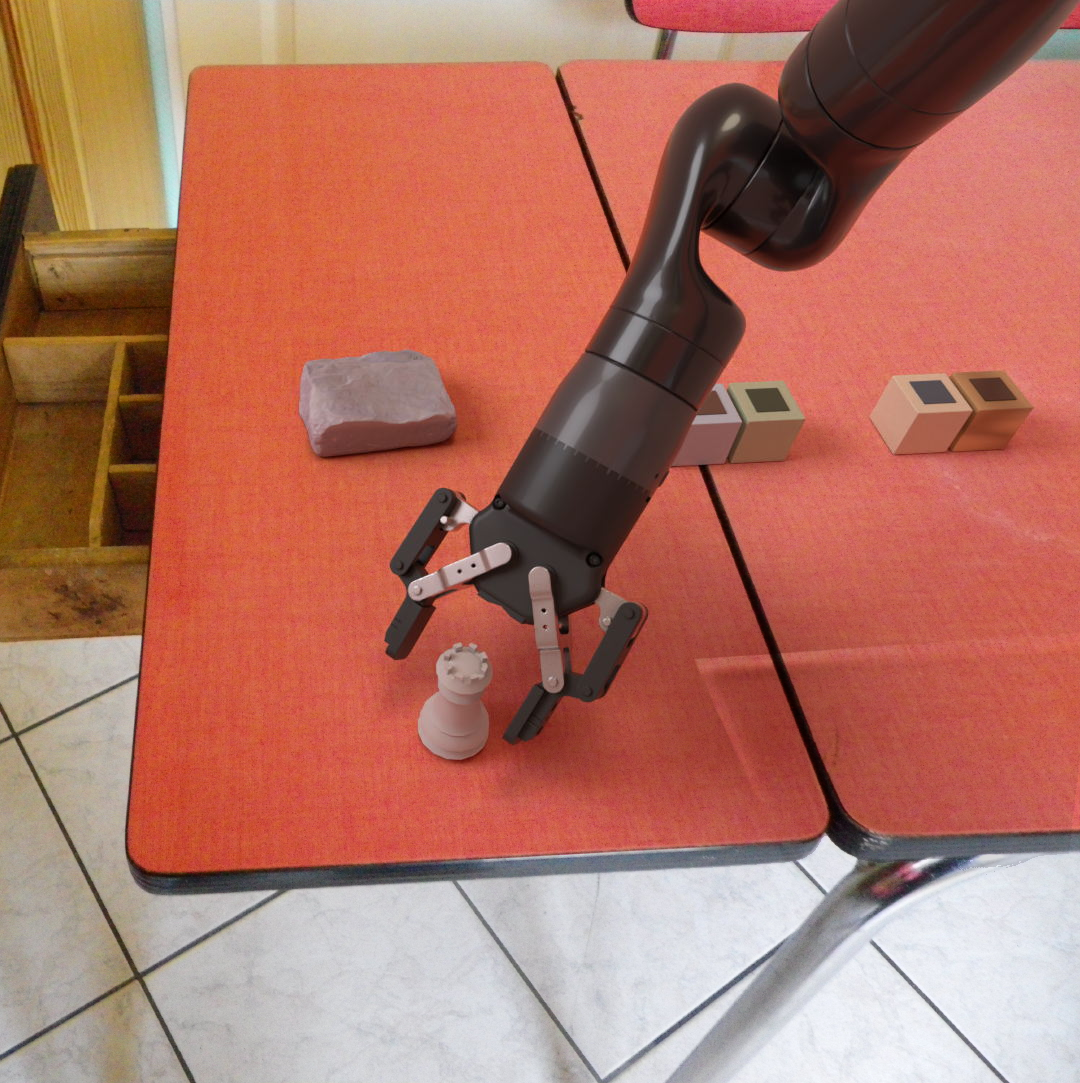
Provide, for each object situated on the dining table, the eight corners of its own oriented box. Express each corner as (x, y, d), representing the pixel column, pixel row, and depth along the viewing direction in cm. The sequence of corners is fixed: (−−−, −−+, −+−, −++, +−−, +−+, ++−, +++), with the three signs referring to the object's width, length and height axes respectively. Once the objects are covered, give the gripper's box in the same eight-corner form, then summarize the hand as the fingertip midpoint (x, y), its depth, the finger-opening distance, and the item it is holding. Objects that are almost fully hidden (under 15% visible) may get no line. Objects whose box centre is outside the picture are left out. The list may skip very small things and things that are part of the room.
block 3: (919, 414, 83) (946, 371, 79) (945, 452, 80) (974, 409, 76) (868, 417, 82) (892, 374, 79) (892, 455, 80) (918, 412, 76)
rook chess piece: (424, 768, 60) (435, 698, 54) (410, 705, 63) (419, 632, 57) (495, 758, 61) (514, 689, 55) (478, 696, 64) (495, 624, 58)
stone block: (292, 402, 84) (312, 466, 77) (291, 351, 81) (311, 412, 74) (427, 391, 86) (459, 452, 79) (431, 340, 83) (465, 398, 76)
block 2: (764, 422, 82) (784, 379, 78) (785, 460, 79) (806, 417, 75) (712, 424, 81) (729, 381, 78) (730, 463, 78) (749, 420, 75)
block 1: (706, 425, 81) (723, 381, 78) (724, 464, 78) (743, 420, 75) (652, 427, 81) (667, 384, 77) (669, 466, 78) (685, 423, 74)
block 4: (976, 411, 83) (1005, 368, 80) (1004, 449, 80) (1035, 406, 77) (925, 414, 83) (952, 371, 79) (951, 452, 80) (980, 409, 76)
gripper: (470, 384, 55) (330, 633, 57) (703, 513, 49) (534, 782, 52) (511, 408, 61) (384, 630, 64) (720, 524, 55) (570, 761, 58)
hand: (451, 697), depth 58 cm, fingers open, 8 cm apart
